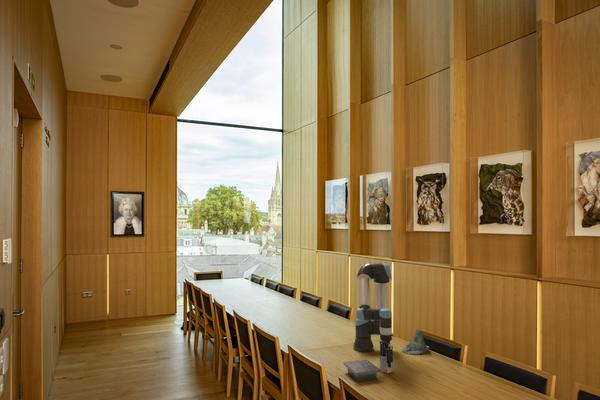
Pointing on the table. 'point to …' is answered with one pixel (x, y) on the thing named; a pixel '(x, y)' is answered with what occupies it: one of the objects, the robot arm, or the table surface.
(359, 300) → the robot arm
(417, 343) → the tree stump
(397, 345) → the table surface
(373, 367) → the display plinth
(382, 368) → the medicine box
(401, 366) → the table surface
